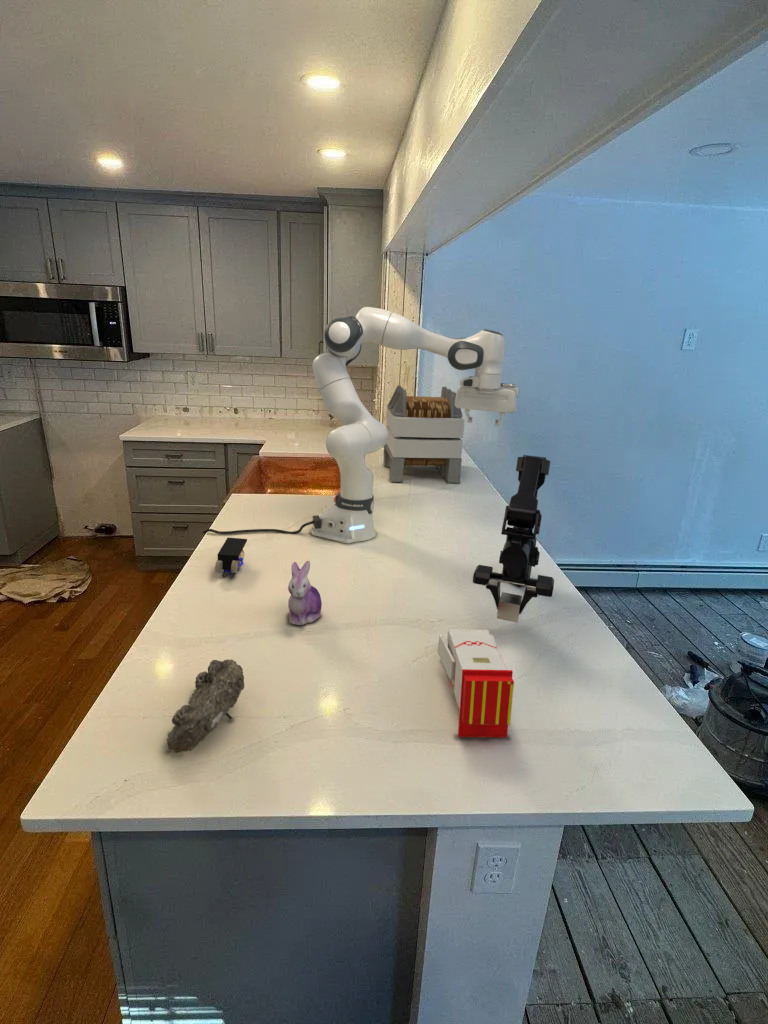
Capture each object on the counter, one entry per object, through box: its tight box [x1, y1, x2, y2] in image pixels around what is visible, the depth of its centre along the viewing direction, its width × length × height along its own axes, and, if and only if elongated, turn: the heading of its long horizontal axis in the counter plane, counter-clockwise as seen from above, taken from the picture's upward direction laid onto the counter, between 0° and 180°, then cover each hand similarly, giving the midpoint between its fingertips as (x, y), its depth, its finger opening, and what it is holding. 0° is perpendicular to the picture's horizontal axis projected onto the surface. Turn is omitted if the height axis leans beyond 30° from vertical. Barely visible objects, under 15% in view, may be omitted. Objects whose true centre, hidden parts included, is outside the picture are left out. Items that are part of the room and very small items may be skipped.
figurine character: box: [214, 537, 248, 578], centre depth 166 cm, size 7×8×15 cm
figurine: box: [287, 560, 323, 626], centre depth 141 cm, size 9×10×15 cm
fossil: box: [166, 658, 245, 754], centre depth 106 cm, size 22×10×15 cm
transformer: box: [383, 384, 465, 484], centre depth 268 cm, size 34×33×41 cm
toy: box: [437, 628, 515, 738], centre depth 117 cm, size 12×13×30 cm
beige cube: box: [496, 591, 523, 623], centre depth 139 cm, size 5×5×5 cm
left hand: (483, 423), depth 190 cm, fingers open, 8 cm apart
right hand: (509, 611), depth 139 cm, fingers closed on beige cube, 5 cm apart
